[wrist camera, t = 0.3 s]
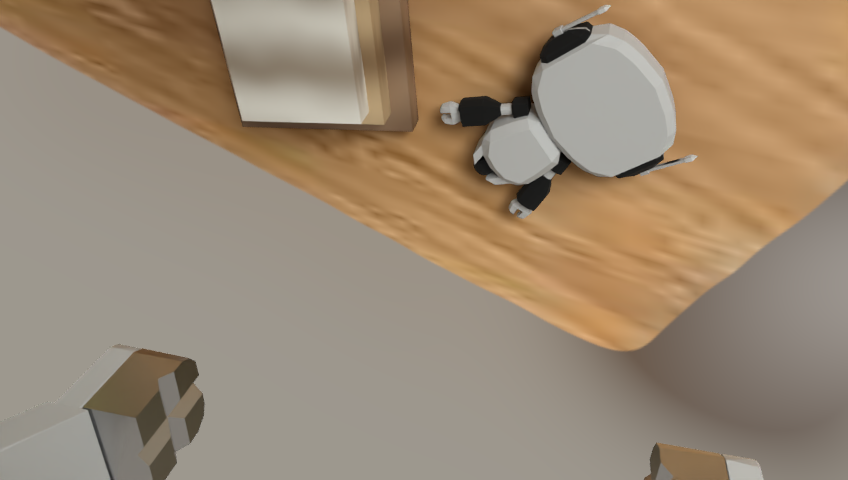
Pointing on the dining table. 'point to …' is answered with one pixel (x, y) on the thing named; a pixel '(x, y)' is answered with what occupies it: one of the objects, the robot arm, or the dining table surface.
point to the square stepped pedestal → (320, 63)
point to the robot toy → (576, 114)
